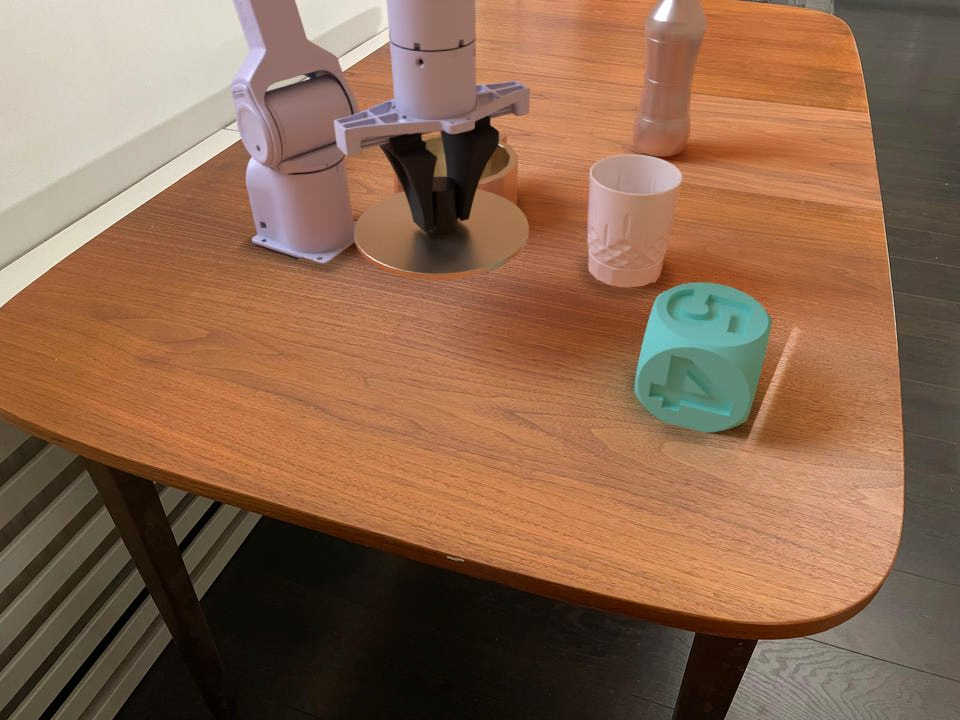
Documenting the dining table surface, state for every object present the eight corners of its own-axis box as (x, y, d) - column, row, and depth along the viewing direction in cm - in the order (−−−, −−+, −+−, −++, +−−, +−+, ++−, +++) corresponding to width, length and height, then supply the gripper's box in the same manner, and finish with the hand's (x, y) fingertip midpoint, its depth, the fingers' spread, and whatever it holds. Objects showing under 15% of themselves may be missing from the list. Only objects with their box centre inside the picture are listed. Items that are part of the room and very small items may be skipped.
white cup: (622, 306, 67) (636, 204, 61) (563, 267, 72) (570, 169, 66) (683, 276, 71) (702, 177, 65) (623, 241, 76) (635, 146, 70)
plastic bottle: (686, 165, 89) (718, -22, 76) (628, 160, 90) (650, -24, 77) (686, 142, 94) (716, -36, 81) (631, 138, 95) (652, -39, 82)
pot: (358, 232, 78) (352, 179, 74) (450, 164, 90) (448, 116, 86) (465, 264, 73) (463, 209, 69) (546, 188, 85) (549, 137, 81)
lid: (319, 256, 58) (310, 200, 55) (417, 184, 67) (414, 133, 64) (473, 306, 53) (472, 248, 50) (557, 221, 62) (560, 167, 59)
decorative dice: (739, 446, 54) (765, 360, 49) (628, 418, 56) (642, 333, 51) (752, 377, 60) (776, 293, 55) (651, 354, 62) (665, 272, 57)
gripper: (355, 76, 45) (376, 270, 54) (557, 36, 50) (547, 218, 59) (312, 43, 50) (338, 227, 58) (502, 10, 55) (500, 182, 64)
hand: (440, 220), depth 59 cm, fingers closed on lid, 2 cm apart
